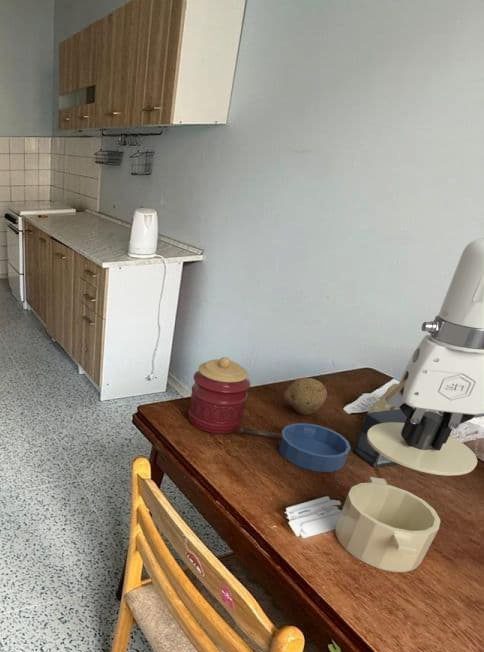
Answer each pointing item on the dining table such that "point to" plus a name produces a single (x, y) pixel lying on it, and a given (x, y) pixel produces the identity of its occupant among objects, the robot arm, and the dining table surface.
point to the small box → (362, 443)
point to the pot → (386, 526)
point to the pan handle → (260, 433)
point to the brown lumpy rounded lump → (306, 395)
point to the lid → (422, 448)
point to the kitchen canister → (218, 396)
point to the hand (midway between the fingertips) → (420, 442)
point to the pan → (314, 447)
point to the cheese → (384, 402)
